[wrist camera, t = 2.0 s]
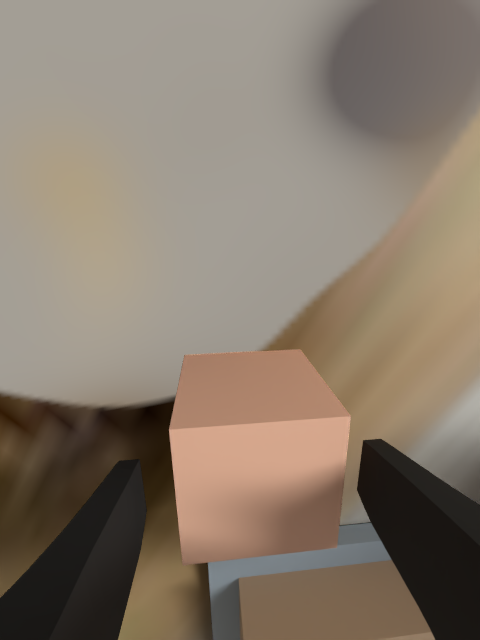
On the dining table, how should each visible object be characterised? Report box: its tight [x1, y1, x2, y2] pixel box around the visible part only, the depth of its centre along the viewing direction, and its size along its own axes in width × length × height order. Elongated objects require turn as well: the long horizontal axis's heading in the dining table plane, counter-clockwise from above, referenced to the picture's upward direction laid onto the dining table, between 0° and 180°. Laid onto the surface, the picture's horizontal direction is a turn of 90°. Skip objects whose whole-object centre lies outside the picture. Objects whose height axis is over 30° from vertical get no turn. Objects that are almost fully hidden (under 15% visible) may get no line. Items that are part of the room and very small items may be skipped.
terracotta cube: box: [169, 349, 351, 565], centre depth 11 cm, size 5×5×5 cm
